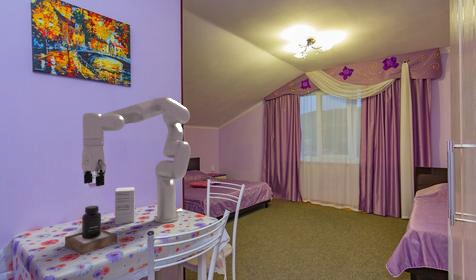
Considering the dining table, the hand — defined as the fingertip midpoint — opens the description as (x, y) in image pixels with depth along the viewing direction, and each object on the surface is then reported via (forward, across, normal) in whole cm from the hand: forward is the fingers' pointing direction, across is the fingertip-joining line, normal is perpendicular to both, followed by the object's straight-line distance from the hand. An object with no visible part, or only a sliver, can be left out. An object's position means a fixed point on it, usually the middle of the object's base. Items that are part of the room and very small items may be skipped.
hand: (94, 184), depth 107 cm
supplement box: (+25, -16, +24) cm, 38 cm away
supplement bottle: (+21, 0, -1) cm, 21 cm away
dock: (+24, 0, -2) cm, 24 cm away
